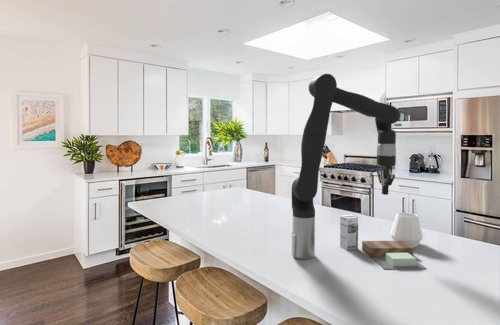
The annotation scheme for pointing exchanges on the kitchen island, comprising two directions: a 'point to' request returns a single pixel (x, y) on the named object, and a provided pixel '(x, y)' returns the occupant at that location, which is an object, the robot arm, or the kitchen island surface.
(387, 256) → the mint green block
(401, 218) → the cup
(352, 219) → the syrup box
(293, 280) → the kitchen island surface
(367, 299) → the kitchen island surface
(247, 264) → the kitchen island surface
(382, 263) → the mat
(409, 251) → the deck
